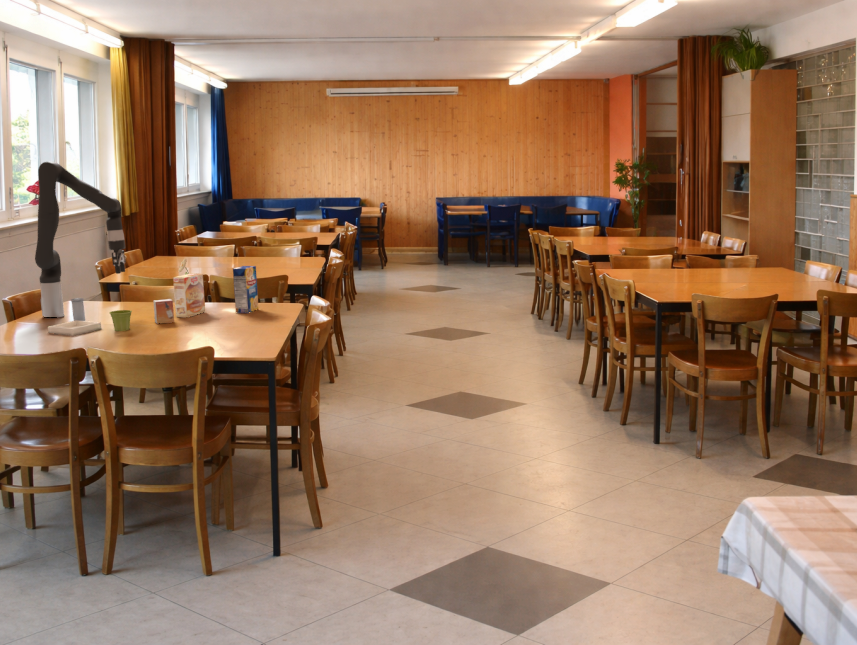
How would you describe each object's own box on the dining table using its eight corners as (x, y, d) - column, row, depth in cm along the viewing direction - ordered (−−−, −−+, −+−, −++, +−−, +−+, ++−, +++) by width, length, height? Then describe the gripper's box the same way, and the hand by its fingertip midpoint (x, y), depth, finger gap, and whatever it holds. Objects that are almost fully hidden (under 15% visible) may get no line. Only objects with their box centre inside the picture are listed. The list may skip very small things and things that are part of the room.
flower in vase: (181, 303, 430) (177, 256, 425) (203, 302, 431) (199, 256, 426) (176, 307, 417) (172, 259, 412) (198, 307, 418) (195, 258, 413)
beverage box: (235, 313, 399) (232, 268, 395) (246, 309, 409) (243, 265, 405) (248, 313, 397) (245, 268, 393) (258, 309, 407) (255, 266, 403)
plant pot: (120, 328, 367) (118, 309, 365) (138, 329, 364) (136, 310, 362) (106, 332, 358) (104, 313, 356) (124, 333, 355) (122, 313, 354)
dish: (48, 333, 356) (47, 326, 356) (76, 326, 370) (76, 320, 369) (73, 335, 350) (72, 329, 349) (101, 329, 363) (100, 322, 363)
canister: (71, 325, 376) (68, 299, 374) (80, 323, 381) (77, 297, 379) (79, 325, 374) (76, 300, 372) (88, 323, 379) (86, 298, 377)
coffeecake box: (187, 317, 389) (184, 277, 385) (175, 317, 391) (172, 277, 388) (206, 312, 403) (203, 273, 399) (194, 311, 405) (191, 272, 401)
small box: (156, 324, 374) (154, 301, 372) (154, 322, 379) (152, 300, 377) (174, 322, 378) (172, 300, 376) (172, 320, 383) (170, 298, 381)
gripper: (112, 239, 400) (116, 272, 403) (104, 240, 386) (108, 274, 389) (127, 238, 401) (132, 270, 403) (120, 239, 387) (124, 273, 389)
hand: (120, 272), depth 396 cm, fingers open, 8 cm apart
